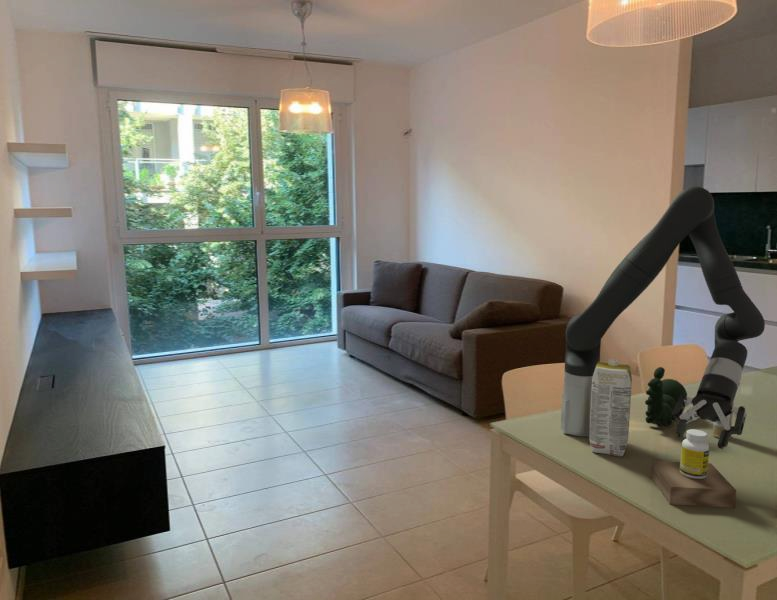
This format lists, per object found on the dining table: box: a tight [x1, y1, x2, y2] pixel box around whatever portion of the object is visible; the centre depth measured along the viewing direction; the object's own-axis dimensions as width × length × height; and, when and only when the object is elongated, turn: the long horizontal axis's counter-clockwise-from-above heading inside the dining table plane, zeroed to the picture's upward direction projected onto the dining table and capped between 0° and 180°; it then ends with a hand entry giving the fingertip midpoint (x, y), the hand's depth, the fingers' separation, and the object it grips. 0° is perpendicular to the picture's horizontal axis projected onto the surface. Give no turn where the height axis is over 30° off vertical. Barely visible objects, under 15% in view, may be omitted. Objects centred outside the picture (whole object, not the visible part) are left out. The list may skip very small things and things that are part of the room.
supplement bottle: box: [679, 428, 710, 479], centre depth 131 cm, size 5×5×10 cm
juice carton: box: [589, 358, 633, 457], centre depth 152 cm, size 9×8×24 cm
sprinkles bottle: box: [712, 400, 735, 439], centre depth 162 cm, size 5×5×13 cm
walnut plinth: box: [650, 460, 737, 509], centre depth 132 cm, size 13×13×4 cm
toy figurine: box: [644, 366, 688, 427], centre depth 174 cm, size 9×19×25 cm
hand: (699, 441), depth 133 cm, fingers open, 8 cm apart
